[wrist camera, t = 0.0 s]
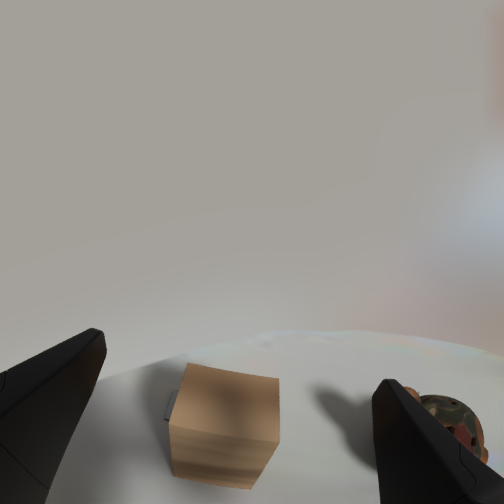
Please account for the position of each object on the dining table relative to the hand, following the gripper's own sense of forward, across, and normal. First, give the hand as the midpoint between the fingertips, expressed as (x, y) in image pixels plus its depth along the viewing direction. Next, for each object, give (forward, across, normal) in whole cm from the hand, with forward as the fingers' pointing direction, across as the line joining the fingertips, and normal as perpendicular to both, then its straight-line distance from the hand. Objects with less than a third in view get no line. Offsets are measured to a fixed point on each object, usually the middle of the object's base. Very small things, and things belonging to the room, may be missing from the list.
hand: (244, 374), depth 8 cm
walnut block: (+5, 0, +17) cm, 17 cm away
